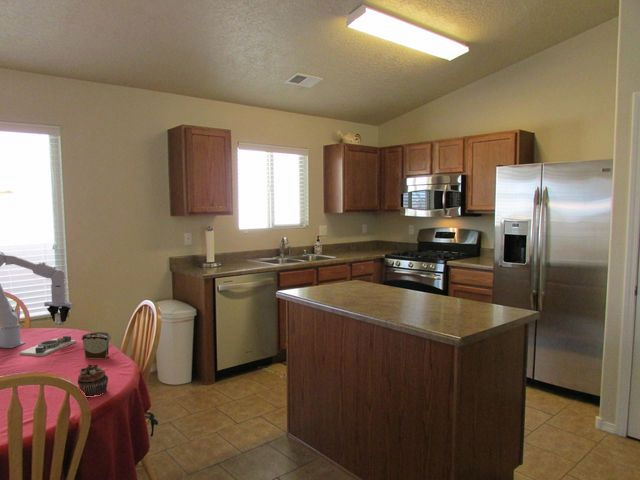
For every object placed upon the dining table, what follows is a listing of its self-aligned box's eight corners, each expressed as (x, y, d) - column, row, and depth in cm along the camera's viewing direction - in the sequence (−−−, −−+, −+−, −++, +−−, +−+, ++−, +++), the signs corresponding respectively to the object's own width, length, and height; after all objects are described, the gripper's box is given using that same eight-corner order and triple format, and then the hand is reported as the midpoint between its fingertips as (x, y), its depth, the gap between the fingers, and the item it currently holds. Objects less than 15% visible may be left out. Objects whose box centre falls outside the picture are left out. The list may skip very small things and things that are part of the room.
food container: (117, 354, 197) (116, 332, 196) (109, 359, 191) (108, 336, 190) (90, 353, 198) (89, 331, 198) (82, 358, 192) (81, 335, 191)
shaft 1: (42, 353, 196) (42, 347, 196) (35, 353, 195) (35, 347, 195) (47, 349, 201) (47, 344, 201) (40, 350, 200) (40, 344, 200)
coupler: (52, 325, 217) (52, 313, 216) (59, 323, 221) (58, 311, 220) (60, 326, 216) (59, 313, 215) (66, 323, 220) (66, 311, 219)
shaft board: (19, 354, 196) (18, 348, 196) (54, 340, 216) (53, 335, 216) (42, 356, 194) (42, 350, 194) (76, 342, 214) (75, 337, 214)
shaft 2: (67, 340, 214) (67, 335, 214) (71, 341, 213) (70, 336, 212) (57, 343, 210) (56, 337, 210) (60, 344, 208) (60, 338, 208)
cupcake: (103, 398, 153) (101, 370, 152) (73, 399, 152) (72, 371, 151) (113, 387, 163) (112, 360, 162) (85, 388, 162) (83, 361, 161)
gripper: (77, 292, 219) (78, 320, 221) (51, 291, 222) (52, 318, 223) (66, 295, 213) (68, 323, 214) (40, 294, 215) (41, 322, 216)
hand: (59, 321), depth 218 cm, fingers closed on coupler, 4 cm apart
